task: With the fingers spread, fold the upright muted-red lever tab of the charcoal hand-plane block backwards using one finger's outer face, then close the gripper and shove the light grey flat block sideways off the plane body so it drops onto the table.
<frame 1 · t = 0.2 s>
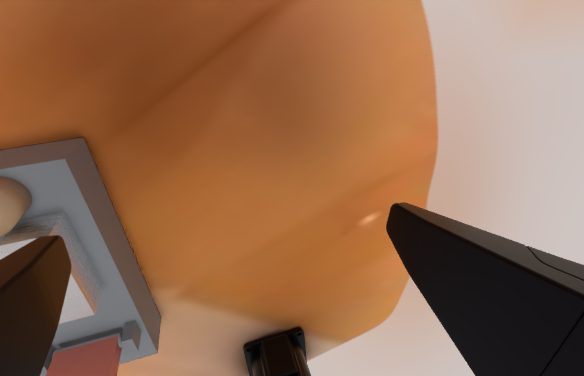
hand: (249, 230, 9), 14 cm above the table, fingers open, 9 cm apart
light grey flat block: (43, 260, 19), point 3 cm above the table, touching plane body
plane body: (78, 254, 23), on the table
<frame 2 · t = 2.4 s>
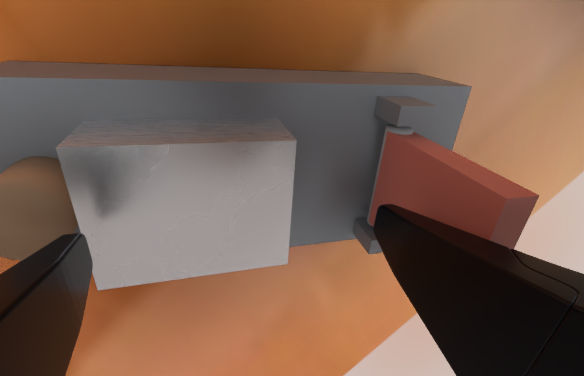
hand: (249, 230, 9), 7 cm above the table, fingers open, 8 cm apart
light grey flat block: (194, 181, 11), point 3 cm above the table, touching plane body
lever: (425, 208, 11), point 7 cm above the table, hinge at 0.3°, touching gripper
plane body: (248, 146, 15), on the table
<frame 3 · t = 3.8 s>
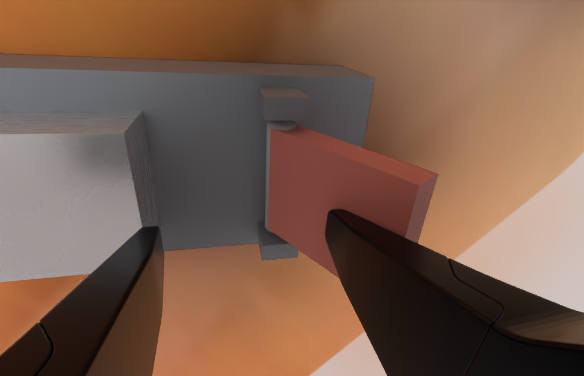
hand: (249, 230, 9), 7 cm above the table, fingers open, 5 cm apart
light grey flat block: (58, 177, 11), point 3 cm above the table, touching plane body
lever: (328, 204, 10), point 6 cm above the table, hinge at 32.2°, touching gripper
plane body: (154, 141, 14), on the table
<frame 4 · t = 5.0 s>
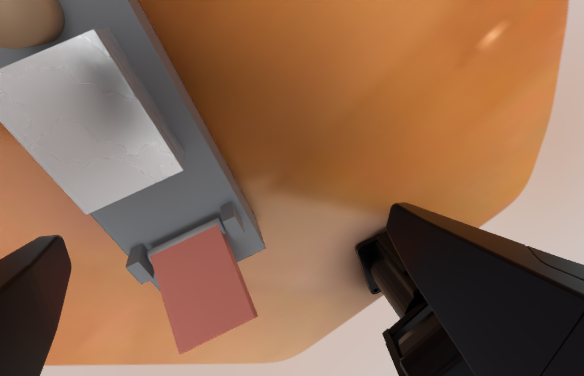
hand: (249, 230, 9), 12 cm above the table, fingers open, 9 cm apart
light grey flat block: (104, 116, 14), point 3 cm above the table, touching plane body
lever: (201, 281, 17), point 6 cm above the table, hinge at 39.9°
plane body: (145, 139, 19), on the table
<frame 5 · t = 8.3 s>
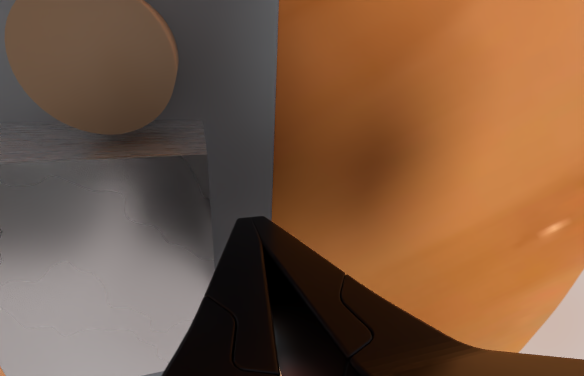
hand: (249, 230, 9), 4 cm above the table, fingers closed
light grey flat block: (123, 228, 9), point 4 cm above the table, touching gripper
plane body: (168, 228, 13), on the table
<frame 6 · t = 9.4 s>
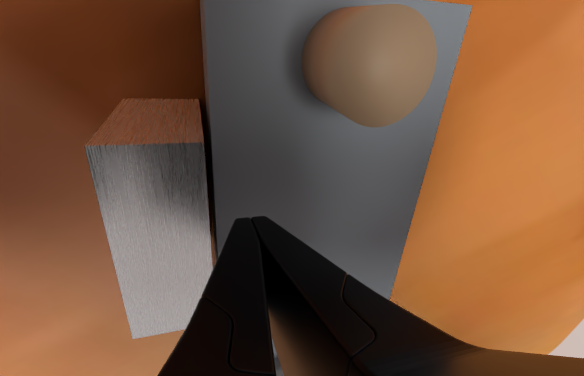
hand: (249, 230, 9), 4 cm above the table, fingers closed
light grey flat block: (207, 204, 11), point 2 cm above the table, tilted 90°
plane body: (291, 216, 14), on the table
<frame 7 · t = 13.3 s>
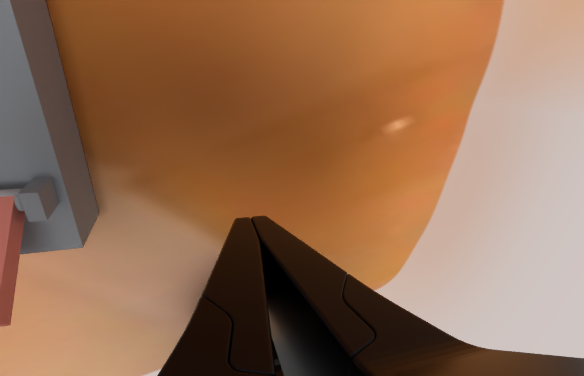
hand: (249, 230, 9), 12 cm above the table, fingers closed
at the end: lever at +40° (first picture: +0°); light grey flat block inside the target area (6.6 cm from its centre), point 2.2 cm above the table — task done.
